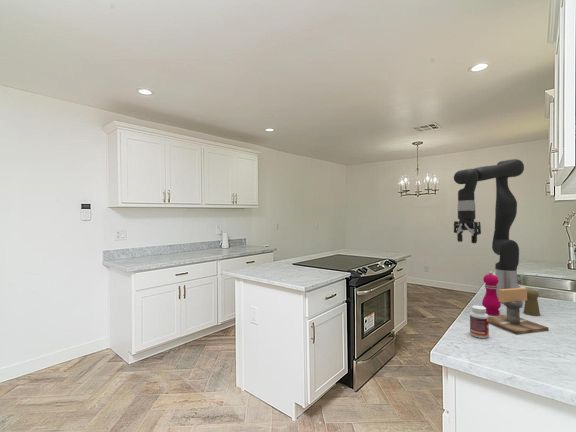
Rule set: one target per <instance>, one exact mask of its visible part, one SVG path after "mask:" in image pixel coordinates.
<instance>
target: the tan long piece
mask: <svg viewBox="0 0 576 432" xmlns="http://www.w3.org/2000/svg"><path fill="white" fill-rule="evenodd" d="M527 290H528V288H527V287H525V286H521V285H520V286H519V288H511V289H498V294H499V302H500V303H501V302H503V303H502V304H503V306H505V307H507V306H508V307H512V308H520V309H521V308H523V302H525V301H527Z"/></svg>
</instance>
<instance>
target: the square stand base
mask: <svg viewBox="0 0 576 432" xmlns="http://www.w3.org/2000/svg"><path fill="white" fill-rule="evenodd" d="M520 309H521V308H512V307H508V306H506V314H502V315H497V316H494V315H492V316H488V317H489V325H492V326H494V327H496V328H499V329H502V330H503V331H506V332H509V333H511V334H513V335H515V336H516V335H523V334H531V333H539V332H547V331H549V327H548V326H545V325H542V324H540V323H537V322H533V321H531V320H528V319H525V318H523V317H521V315H520V314H521V313H520V311H521V310H520Z"/></svg>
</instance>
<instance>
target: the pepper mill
mask: <svg viewBox="0 0 576 432" xmlns="http://www.w3.org/2000/svg"><path fill="white" fill-rule="evenodd" d="M482 280H483V282H484V288H485V294H484V297H483V299H482V301H481V304H482V305H481V306H483V307H485V308H486V312H485V313H486V314H488V316H500V315H501V313H500V310H499V309H500V308H501V306H502V305H501V304H502V303H501V302H499V299H498V297H497V293H496V289H497V284H498V282H499V280H498V277H497V276H496V274H494V272H493V271H492V270H490V271H488V274H485V275H484V276H483V279H482Z"/></svg>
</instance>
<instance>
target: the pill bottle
mask: <svg viewBox="0 0 576 432" xmlns="http://www.w3.org/2000/svg"><path fill="white" fill-rule="evenodd" d="M485 312H486V308H485V307H484V306H483V305H472V307H471V311H470V312H469V333H470V335H471V336H472V337H475V338H477V339H478V338H479V339H487V338H489V336H490V327H489V325H490V324H489V317H490V316H489V315H488V314H486V313H485Z"/></svg>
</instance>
